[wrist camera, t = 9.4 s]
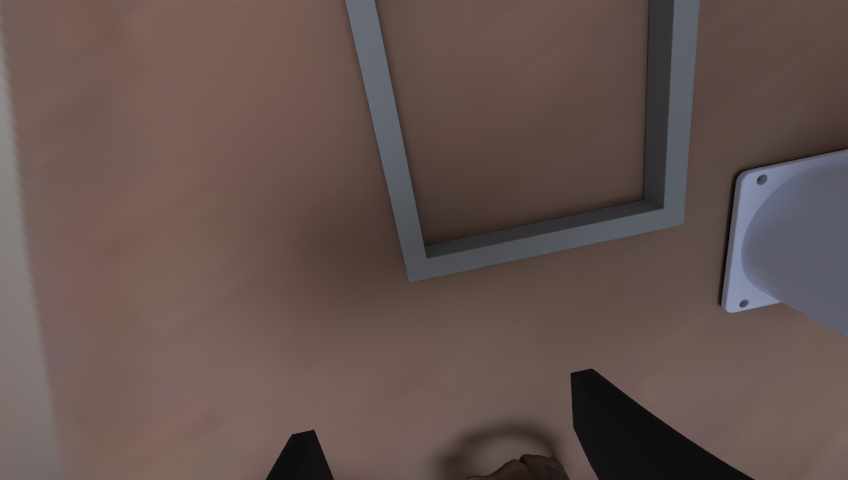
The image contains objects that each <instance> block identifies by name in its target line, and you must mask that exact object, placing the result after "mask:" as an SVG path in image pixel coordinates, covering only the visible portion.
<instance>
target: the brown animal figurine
mask: <svg viewBox="0 0 848 480" xmlns="http://www.w3.org/2000/svg"><path fill="white" fill-rule="evenodd" d="M467 480H570V479H569V477H568V475H567V473H566V472H565V471H564V468H563V466H562V464H561V463H560V462H558V461H556V460H554V459H552V458H548V457H546V456H541V455H530V454H525V455H522V456H521V457H520V459H519V461H518V460H516V459H513V460H511V461H509V462H507V463H505V464H504V465H503V466H502V467H501V468H499V469H498V470H496V471H495V472H494V473H492V474H490V475H487V476H471V477H467Z"/></svg>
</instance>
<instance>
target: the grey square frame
mask: <svg viewBox="0 0 848 480" xmlns="http://www.w3.org/2000/svg"><path fill="white" fill-rule="evenodd" d="M345 1H346V6H347V10H348V15H349V19H350V24H351V28H352V32H353V37H354V41H355V46H356V50H357V54H358V59H359V63H360V68H361V72H362V77H363V81H364V85H365V90H366V94H367V99H368V103H369V108H370V112H371V116H372V121H373V125H374V130H375V134H376V138H377V143H378V147H379V152H380V156H381V161H382V165H383V169H384V174H385V178H386V183H387V187H388V192H389V196H390V200H391V205H392V209H393V214H394V218H395V222H396V227H397V231H398V236H399V240H400V245H401V249H402V253H403V258H404V262H405V267H406V271H407V275H408V280H409V283H412V282H416V281H421V280H426V279H431V278H435V277H440V276H445V275H449V274H454V273H459V272H463V271H468V270H473V269H477V268H482V267H487V266H492V265H496V264H501V263H506V262H510V261H515V260H520V259H524V258H529V257H534V256H538V255H543V254H548V253H553V252H557V251H562V250H567V249H571V248H576V247H581V246H585V245H590V244H595V243H599V242H604V241H609V240H614V239H618V238H623V237H628V236H632V235H637V234H642V233H646V232H651V231H656V230H660V229H665V228H670V227H675V226H679V225H684V211H685V198H686V184H687V170H688V156H689V142H690V129H691V115H692V101H693V87H694V73H695V60H696V46H697V32H698V18H699V5H700V0H650V4H649V37H648V70H647V103H646V136H645V170H644V200H640V201H635V202H631V203H626V204H621V205H616V206H612V207H607V208H602V209H597V210H593V211H588V212H583V213H578V214H574V215H569V216H564V217H559V218H555V219H550V220H545V221H540V222H536V223H531V224H526V225H522V226H517V227H512V228H507V229H503V230H498V231H493V232H488V233H484V234H479V235H474V236H469V237H465V238H460V239H455V240H450V241H446V242H441V243H436V244H431V245H427V246H424V243H423V238H422V233H421V228H420V223H419V218H418V213H417V208H416V203H415V198H414V193H413V188H412V183H411V178H410V174H409V169H408V164H407V159H406V154H405V149H404V144H403V139H402V134H401V129H400V124H399V119H398V114H397V109H396V104H395V99H394V94H393V89H392V84H391V79H390V74H389V69H388V64H387V59H386V54H385V49H384V45H383V40H382V35H381V30H380V25H379V20H378V15H377V10H376V5H375V0H345Z"/></svg>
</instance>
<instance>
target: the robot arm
mask: <svg viewBox="0 0 848 480" xmlns="http://www.w3.org/2000/svg"><path fill="white" fill-rule="evenodd" d="M759 176H760V179H759V180H758V181H757V179H758V177H759ZM780 302H782V303H784V304H786V305H788V306H790V307H791V308H793V309H795V310H797V311H799V312H800V313H802V314H804V315H806V316H808V317H810V318H811V319H813V320H815V321H817V322H819V323H820V324H822V325H824V326H826V327H828V328H830V329H831V330H833V331H835V332H837V333H839V334H841V335H842V336H844V337H846V338H848V149H846V150H841V151H836V152H831V153H827V154H822V155H817V156H812V157H808V158H803V159H798V160H793V161H789V162H784V163H779V164H774V165H770V166H765V167H760V168H755V169H751V170H747V171H744V172H743V173H741V174H740V175H739V177H738V178H737V181H736V188H735V196H734V204H733V212H732V220H731V229H730V237H729V245H728V253H727V262H726V270H725V278H724V286H723V294H722V303H721V306H722V308H723V309H724V310H725V311H727V312H729V313H735V312H739V311H744V310H748V309H753V308H757V307H762V306H766V305H771V304H776V303H780ZM571 392H572V411H573V428H574V430H575V432H576V434H577V437H578V439H579V441H580V443H581V446H582V448H583V450H584V452H585V454H586V456H587V458H588V461H589V463H590V465H591V467H592V468H593V470H594V472H595V473H596V475H597V477H598V479H599V480H754V479H752V478H751V477H749V476H747V475H745V474H744V473H742V472H740V471H738V470H737V469H735V468H733V467H732V466H730V465H728V464H727V463H725V462H723V461H722V460H720V459H719V458H717V457H715V456H714V455H712V454H711V453H709V452H707V451H706V450H704V449H703V448H701V447H700V446H698V445H697V444H695V443H694V442H692V441H691V440H689V439H687V438H686V437H685V436H683V435H682V434H680V433H679V432H677V431H676V430H674V429H673V428H671V427H670V426H669V425H667V424H666V423H664V422H663V421H662V420H660V419H659V418H657V417H656V416H654V415H653V414H652V413H650V412H649V411H647V410H646V409H645V408H643V407H642V406H641V405H639V404H638V403H637V402H635V401H634V400H633V399H631V398H630V397H629V396H627V395H626V394H625V393H623V392H622V391H621V390H620V389H618V388H617V387H616V386H614V385H613V384H612V383H611V382H609V381H608V380H607V379H605V378H604V377H603V376H601V375H600V374H599V373H598V372H596V371H595V370H593V369H587V370H583V371H578V372H574V373H571ZM266 480H334V479H333V476H332V474H331V471H330V469H329V466H328V464H327V461H326V458H325V456H324V453H323V451H322V448H321V446H320V443H319V441H318V438H317V436H316V433H315V431H314V430H311V431H306V432H302V433H297V434H292V436H291V437H290V438H289V440H288V442H287V443H286V445H285V447H284V449H283V450H282V452H281V454H280V456H279V457H278V459H277V461H276V463H275V464H274V466H273V468H272V470H271V471H270V473H269V475H268V476H267V478H266Z"/></svg>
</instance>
